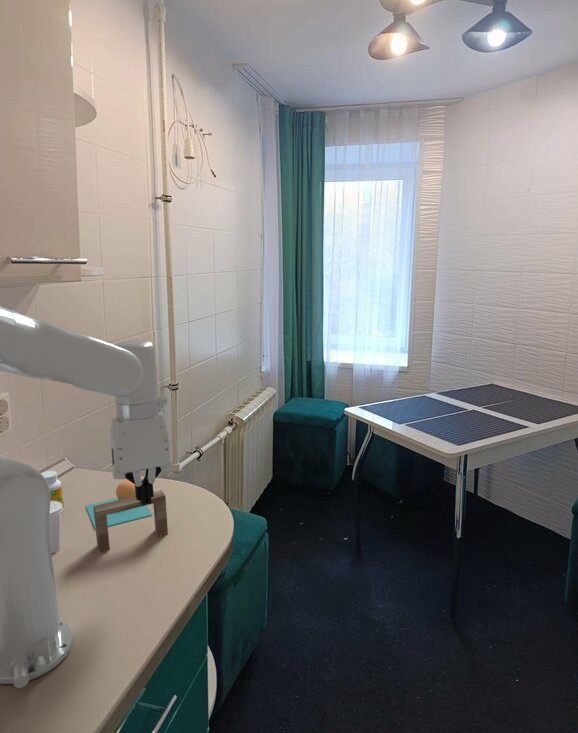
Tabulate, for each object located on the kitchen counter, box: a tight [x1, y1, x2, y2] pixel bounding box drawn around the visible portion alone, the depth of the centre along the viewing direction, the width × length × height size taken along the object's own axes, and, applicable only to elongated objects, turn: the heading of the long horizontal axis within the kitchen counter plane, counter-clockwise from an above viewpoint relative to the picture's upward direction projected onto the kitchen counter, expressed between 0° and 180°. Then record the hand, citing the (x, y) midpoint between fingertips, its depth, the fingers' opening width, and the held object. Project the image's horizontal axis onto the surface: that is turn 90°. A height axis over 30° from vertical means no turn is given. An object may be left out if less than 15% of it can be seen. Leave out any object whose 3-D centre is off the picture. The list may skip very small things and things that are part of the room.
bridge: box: [93, 489, 169, 553], centre depth 112 cm, size 3×14×9 cm, turn 120°
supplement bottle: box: [40, 470, 65, 512], centre depth 125 cm, size 5×5×10 cm
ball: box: [115, 479, 136, 500], centre depth 130 cm, size 6×6×6 cm
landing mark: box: [85, 497, 153, 531], centre depth 126 cm, size 13×13×1 cm
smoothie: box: [49, 501, 64, 555], centre depth 108 cm, size 6×6×14 cm
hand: (145, 501), depth 98 cm, fingers closed
